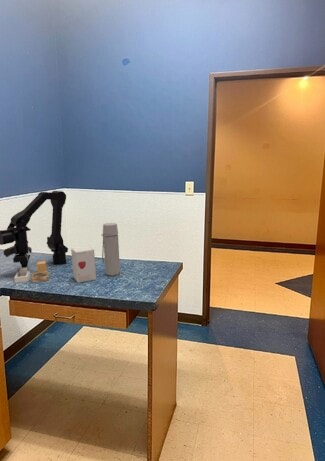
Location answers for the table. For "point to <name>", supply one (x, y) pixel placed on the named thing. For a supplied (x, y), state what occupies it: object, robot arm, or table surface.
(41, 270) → the orange block
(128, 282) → the table surface
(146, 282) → the table surface
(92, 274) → the supplement box
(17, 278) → the clip
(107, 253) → the water bottle
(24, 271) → the block
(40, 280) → the holder
